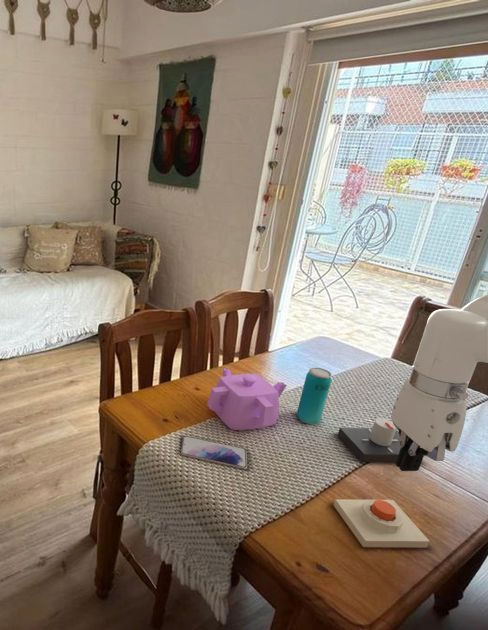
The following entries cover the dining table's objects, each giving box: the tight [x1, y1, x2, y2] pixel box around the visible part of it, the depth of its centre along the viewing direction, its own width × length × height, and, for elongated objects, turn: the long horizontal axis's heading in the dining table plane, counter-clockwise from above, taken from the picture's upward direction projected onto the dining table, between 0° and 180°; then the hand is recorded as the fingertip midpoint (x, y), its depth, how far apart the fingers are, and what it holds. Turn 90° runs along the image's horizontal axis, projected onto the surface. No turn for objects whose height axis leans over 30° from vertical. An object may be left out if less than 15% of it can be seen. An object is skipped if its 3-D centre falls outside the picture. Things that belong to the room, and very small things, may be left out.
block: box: [333, 498, 430, 549], centre depth 86 cm, size 12×10×4 cm
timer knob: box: [370, 417, 397, 446], centre depth 106 cm, size 4×4×5 cm
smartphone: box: [180, 435, 248, 470], centre depth 106 cm, size 7×1×15 cm
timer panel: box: [337, 427, 402, 464], centre depth 107 cm, size 14×10×3 cm
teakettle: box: [206, 368, 288, 431], centre depth 118 cm, size 17×17×12 cm
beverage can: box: [296, 367, 332, 425], centre depth 116 cm, size 6×6×15 cm
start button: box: [371, 499, 396, 521], centre depth 85 cm, size 4×4×2 cm
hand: (406, 467), depth 81 cm, fingers closed
